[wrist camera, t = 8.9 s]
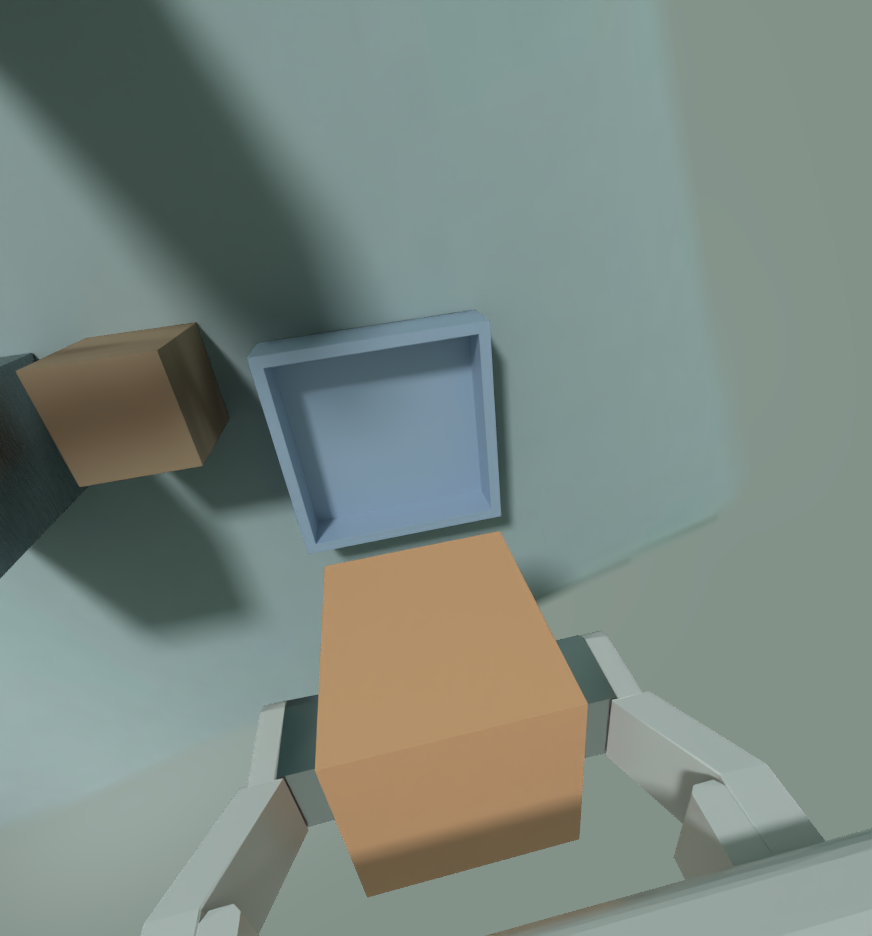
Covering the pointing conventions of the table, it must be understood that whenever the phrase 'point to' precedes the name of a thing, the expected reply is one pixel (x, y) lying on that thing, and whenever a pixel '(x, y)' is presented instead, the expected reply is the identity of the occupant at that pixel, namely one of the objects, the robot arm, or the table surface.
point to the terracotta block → (444, 714)
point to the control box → (27, 468)
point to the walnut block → (129, 403)
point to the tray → (383, 427)
